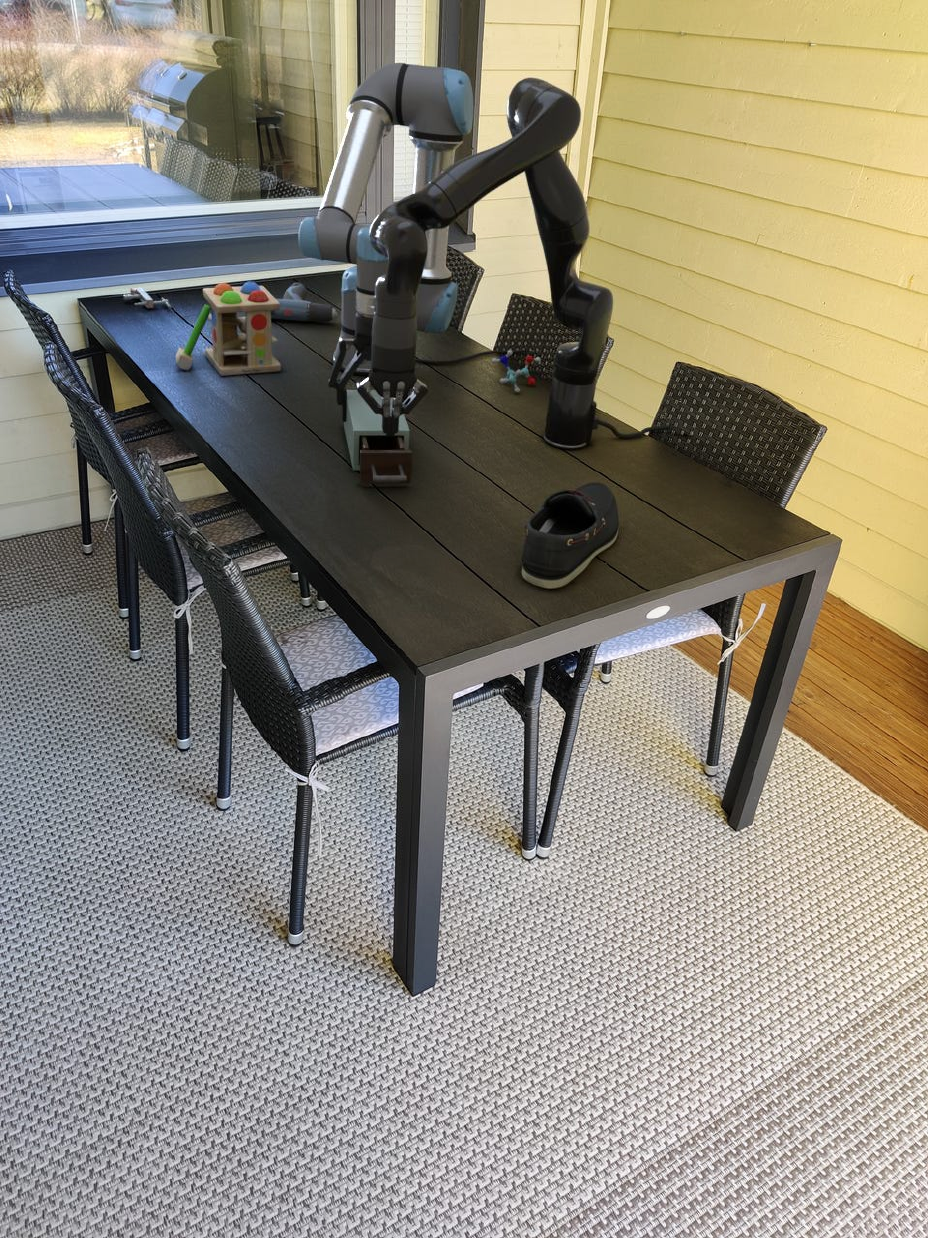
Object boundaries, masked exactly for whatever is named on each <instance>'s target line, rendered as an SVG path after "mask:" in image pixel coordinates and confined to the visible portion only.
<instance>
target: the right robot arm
mask: <svg viewBox="0 0 928 1238" xmlns="http://www.w3.org/2000/svg"><path fill="white" fill-rule="evenodd" d="M506 121H507V126H508V129H509V132H510V135H511V138H509V139H508V140H506V141H504V142H502V143H500V144H498V145H496V146H493V147H491V148H488V149H485V150H482V151H480V152H477V153H474V154H471V155H468V156H465V157H463V158H460V159H458V160H457V161H454V164H452V165H450V166H449V167H448V168H446V169H445V170H444V171H443V172H441V173H440V174H439V175H438V176H436V177H435V178H434V179H433V180H432V181H430V182H429V183H428V184H427V185H426V186H425V187H424V188H423V189H421V190H420V191H418V192H416V193H413V194H412V193H411V194H409V195H407V196H405V197H403V198H402V199H399V200H398V201H396V202H393V204H390V205H389V206H387V207H385V209H383V210H382V211H381V212H379V214H378V215H376V217H375V218H374V220H373V221H372V223H371V225H370V226H371V228H370V232H369V238H370V243H371V245H372V247H373V248H374V249H375V250H376V251H377V252H378V253H379V254H381V255H383V256H384V257H386V258H388V267H387V272H386V274H384V275H382V276H380V277H379V278H378V279H377V282H376V286H375V303H374V318H373V324H372V333H371V336H372V352H371V369H370V371H369V373H368V375H367V378H365V379H363V381H357V382H356V383H355V388H356V390H357V391H358V393H359V394H360V395H361V397H362V398H363V399H364V401H365V402H366V403H367V404H368V406H369V407H370V408H371V409H372V411H373V412H374V413H375V414H380V415H382V430H383V433H386V437H390V436H391V437H394V436H395V433H398V431H399V417H400V416H401V415H403V414H404V415H409V414H410V413H411V412H412V411H413V410H414V409H415V407H416V406H417V405H418V404H419V403H420V402H421V401H422V399H424V397H425V396H426V395H427V394H428V392H429V389H428V386H427V384H426V383H425V382H422V381H420V380H419V379H418V375H417V373H416V362H415V359H416V356H417V336H418V331H417V321H416V311H417V290H418V286H419V284H420V281H421V278H422V274H423V270H424V267H425V263H426V260H427V254H428V239H427V235H426V232H425V231H427V230H430V229H444V228H446V227H448V226H449V227H450V226H451V225H452V224H454V222H456V221H457V220H458V219H459V218H461V217H462V216H464V214H466V213H467V212H468V211H470V209H472V208H473V207H474V206H475V205H476V204H477V203H479V202H480V201H481V200H482V199H484V198H486V197H487V196H488V195H489V194H491V193H492V192H493V191H495V190H496V189H498V188H499V187H501V186H503V185H505V184H506V183H507V182H510V181H511V180H513V179H514V178H516V177H518V176H520V175H521V174H523V173H524V175H525V180H526V185H527V189H528V192H529V196H530V201H531V203H532V207H533V208H532V209H533V214H534V219H535V223H536V228H537V231H538V235H539V238H540V241H541V245H542V249H543V253H544V258H545V264H546V267H547V274H548V280H549V290H550V299H551V304H552V311H553V315H554V317H555V319H556V321H557V322H558V323H559V325H562V326H563V327H566V328H568V329H572V330H576V331H579V332H581V336H580V340H579V341H571V342H566V343H562V344H559V346H558V347H557V348H556V350H555V355H554V356H555V357H554V362H553V370H552V378H551V386H550V391H549V399H548V406H547V413H546V417H545V421H546V422H545V427H544V433H543V441H544V442H545V443H546V444H548V445H549V446H552V447H555V448H556V449H557V448H558V449H563V450H578V449H582V448H584V447H590V446H591V442H592V435H593V431H594V430H595V431H597V430H598V427H599V426H602V427H604V428H606V429H608V430H610V431H611V433H612V434H613V435H614V436H615V437H616V438H619V439H623V440H628V439H629V440H630V439H635V438H639V437H642V436H643V435H645V434H647V433H650V432H651V433H652V432H657V431H665V430H666V431H668V430H669V429H670V426H669V425H670V424H666V425H665V424H663V425H657V426H649V427H645V428H643V429H641V430H640V431H638V432H637V431H636V432H632V433H620V432H619V431H618V430H617V428H616V427H615V426H613V425H612V424H610V423H609V422H607V421H604V420H601V419H599V418H598V417H597V416H596V413H597V406H598V404H597V402H596V401H595V395H596V389H597V383H598V376H599V370H600V365H601V359H602V356H603V354H604V351H605V348H606V343H607V339H608V333H609V330H610V324H611V320H612V317H613V311H614V296H613V295H614V294H613V292H612V291H611V290H610V288H607V287H605V286H602V285H599V284H595V283H593V282H592V283H591V282H588V281H585V280H582V279H580V277H579V276H578V273H577V269H576V261H577V259H578V257H579V256H580V254H581V253H582V251H583V250H584V248H585V246H586V245H587V242H588V239H589V236H590V231H591V230H590V220H589V214H588V209H587V204H586V203H587V202H586V200H585V196H584V195H583V192H582V189H581V188H580V185H579V184H578V181H577V180H576V178H575V176H574V174H573V172H572V171H571V169H570V168H569V165H568V164H567V163H566V161H565V159H564V157H563V156H562V154H561V150H563V149H564V148H565V147H566V146H568V145H569V144H570V142H571V141H572V140H573V139H574V137H575V136H576V134H577V132H578V131H579V128H580V125H581V121H582V110H581V106H580V103H579V102H578V100H577V99H576V98H575V96H573V95H572V94H570V93H569V92H568V91H565V90H563V88H562V89H561V88H560V87H558V86H555V85H554V84H552V83H550V82H548V81H546V80H544V79H540V78H537V77H525V78H523V79H521V80H519V81H518V82H517V83H516V84H515V85H514V86H513V88H512V90H511V91H510V93H509V96H508V99H507V105H506ZM413 385H414V387H413ZM371 386H372V388H373V390H376V392H377V393H378V394H379V396H381V399H382V405H380V404H378V403H377V401H376V400H375V399H374V397H373V396H372V395H371V394H370V392H371V390H372V388H371ZM412 387H413V388H412ZM411 388H412V389H411ZM410 390H412V392H411V393H410V395H408V398H407V399H406V400H405V401H404V403H403V404H402V400H403V397H404V396H405V395H406V394H407V393H408V394H409V392H410ZM390 398H393V401H392V412H391V413H390ZM652 427H653V428H652ZM669 431H670V430H669ZM684 435H685V436H686V437H690V438H691V436H688V435H687V434H684Z"/></svg>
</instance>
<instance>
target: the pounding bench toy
mask: <svg viewBox="0 0 928 1238" xmlns="http://www.w3.org/2000/svg"><path fill="white" fill-rule="evenodd" d="M202 296H203V298H204V299H205V300H206V301H207V302H208V304H209V305H208V304H204V305H203V307H202V309H201V312H200V313H199V316H198V318H197V320H196V322H195V324H194V327H193V329H192V331H191V332H190V333H191V334H190V336H189V338H188V340H187V343H186V344H185V347H184V348H182V347H180V346H179V347H178V349H177V351H176V354H175V357H174V358H175V362H176V365H177V366H178V368H179V369H182V370H185V371H189V370H190V369H191V367H192V365H193V363H194V356H193V351H194V348H195V347H196V345H197V342H198V340H199V337H200V336H201V333H202V332H203V329H204V326H205V325H206V322H207V320H209V321H210V322H211V336H212V337H211V338H212V339H211V340H212V348H205V349H204V352H205V353H204V355H205V357H206V359H208V361H209V363H210V364H211V365H212V366H213V367H214V369H215V370H216V371H217V372H218V374H219V375H220V376H222V377H223V376H234V375H235V376H236V375H246V374H247V375H250V374H262V373H275V372H281V370H282V364H281V363H280V362H279V360H278V359H277V358H276V357H275V356H274V355H273V348H272V347H273V345H272V344H276V343H278V342H279V341H278V339H277V338H276V337H275V336H274V334H272V318H271V310H280V303H279V302H278V301H277V300H276V299H277V298H276V297H274V296H273V295H272V294H271V293H270V292H269V290H268V289H267V288H266V287H264V285H259V284H257V283H256V282H255V281H247V282H245V283H244V284H243V285H242V286H232V285H230V284H229V283H226V282H221V283H218V284H217V285H216V286H215V287H204V288H203V289H202ZM238 313H244V314H245V315H244V316H238ZM238 329H239V331H240V333H239V334H238Z"/></svg>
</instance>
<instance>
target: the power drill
mask: <svg viewBox="0 0 928 1238" xmlns="http://www.w3.org/2000/svg"><path fill="white" fill-rule="evenodd" d="M307 295H308V290H307V287H306V285H304V284H303V283H301V282H293V283H292V284H291V285H290V286H289V287H288V288H287V289H286V291H285V292H284V294H283V297H282V298H275V299H276V300H277V301H278V302H279V303H280V310H271V319H274V320H275V319H276V320H283V321H294V322H295V321H297V322H332V321H333V320H334V319H336V318H337V317H338V312H337V311H336V308H334V307H333V306H332V305H331V304H324V303H317V302H313V301H307V300H305V299H306V297H307Z"/></svg>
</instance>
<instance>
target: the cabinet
mask: <svg viewBox="0 0 928 1238" xmlns="http://www.w3.org/2000/svg"><path fill="white" fill-rule="evenodd" d="M370 394H371V395H372V396H373V397H374V399H375V400H376V401H377V403H378V404H380V405H382V399H381V396H379V394H378V393H377V392H376V390H375V389H371V392H370ZM392 401H393V398H390V413H391V412H392ZM343 429H344V434H345V438H346V443H347V448H348V453H349V458H350V462H351V467H352V471H355V472H356V471H360V456H359V435H386V433H383V430H382V415H380V414H375V413H374V412H373V411H372V409H371V408H370V407H369V406H368V404H367V403H366V402H365V401H364V399H363V398H362V397H361V395H360V394H359V393H358V391H357V389H347V418H346V422H343ZM410 432H411V430H410V427H409V425H408V422H407V419H406V415H405V414H403V415H401V416H400V417H399V431H398V433H395V435H401V438H402V441H403V444H404V447H405V450H410Z"/></svg>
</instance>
